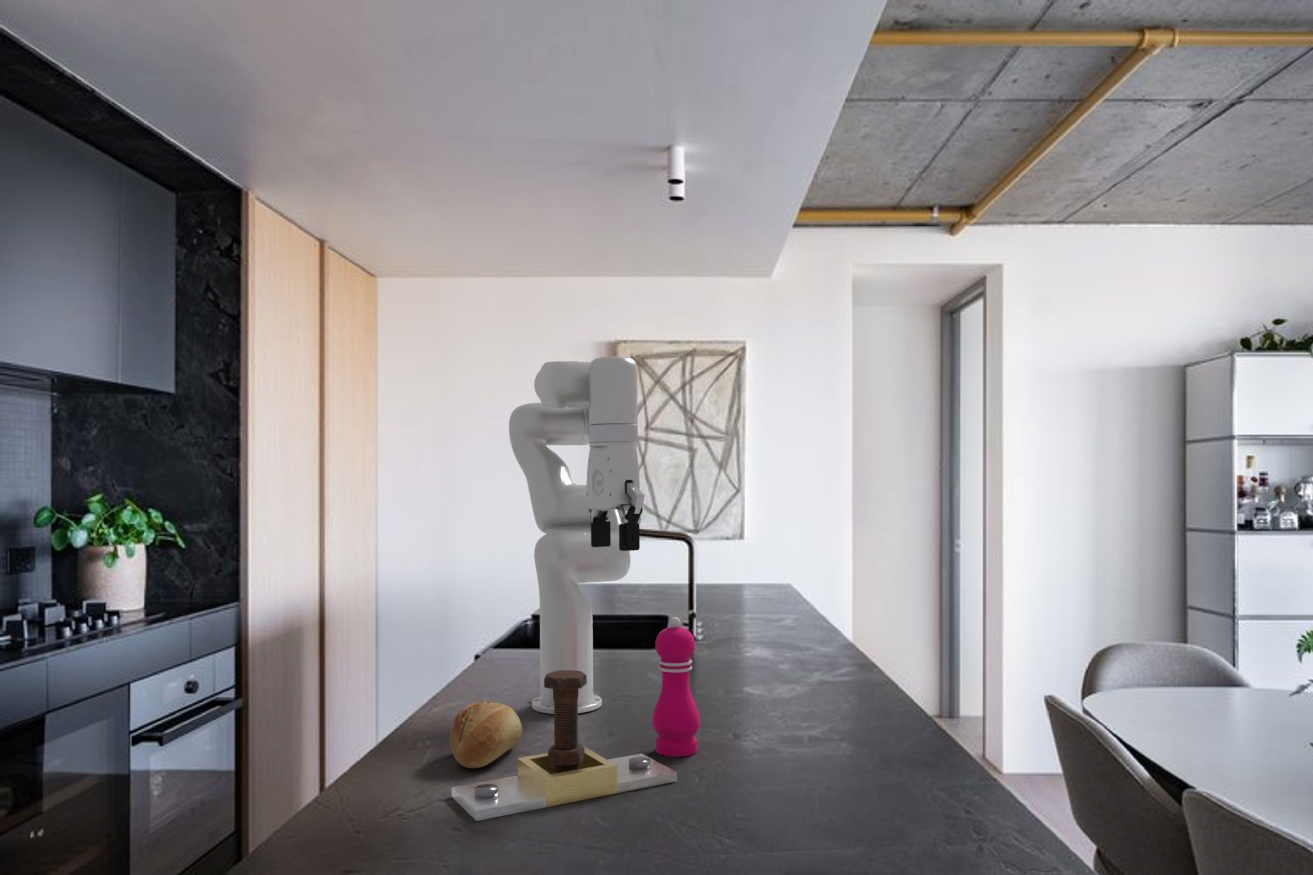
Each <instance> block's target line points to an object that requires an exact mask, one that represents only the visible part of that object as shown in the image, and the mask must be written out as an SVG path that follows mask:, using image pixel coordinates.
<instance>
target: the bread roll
mask: <svg viewBox="0 0 1313 875" xmlns="http://www.w3.org/2000/svg"><path fill="white" fill-rule="evenodd" d="M522 726H523V725H522V723H521V720H520V717H519V716H518V714H517V713H516V712H515V710H513V709H512V707H511V706H508V705H506V704H504V703H503V704H502V703H500V702H490V701H480V702H473V703H471V704H468V705H467V706H465V707H464V708H462V709H461V710H459V712H458V713H456V716H454V719H453V722H452V724H451V728H450V732H449V745H450V748H451V752H452V754H453V757H454V758H455V760H456V761H457V762H458V763H459V765H461V766H463V767H465V768H467V769H478V768H481V767H482V768H483V767H485V766H487V765H489V764H490V763H492V762H494V761H495V760H497V759H498V758H499V757H501V756H502V755H504V754H505V753H507V752H508V751H510V750H512V749H513V748H514V747H515V746H516V745H517V744H518V742H519V741H520V739H521V737H522V732H523V727H522Z"/></svg>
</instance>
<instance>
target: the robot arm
mask: <svg viewBox="0 0 1313 875" xmlns="http://www.w3.org/2000/svg"><path fill="white" fill-rule="evenodd" d="M533 384H534V385H533V386H534V387H533V388H534V391H535V394H536V396H537V397H538V399H539V400H540V402H531V403H524V404H521V405H519V406H517V407H516V408H514V410H512V412H511V414H510V417H509V421H508V434H509V441H510V445H511V449H512V453H513V455H514V457H515V459H516V462H517V463H518V466H519V467H520V469H521V471H522V473H523V474H524V476H525V478H526V481H527V482H526V483H527V489H528V493H529V497H530V503H531V507H532V512H533V517H534V520H535V523H536V524H535V525H536V527H537V529H539V530H540V532H542V533H543V534H544V535H543V536H541V537H539V539H538V540H537V541H536V543H535V547H534V554H533V555H534V556H533V557H534V565H535V571H536V577H537V582H538V583H537V585H538V595H539V650H540V651H539V655H540V657H539V658H540V659H539V662H540V666H539V668H540V670H539V674H540V677H539V679H540V680H539V681H540V682H539V685H540V688H539V689H540V695H539V696H536V697H535V698H533V699H532V701H531V708H532V709H533V710H534V711H536V712H539V713H543V714H550V715H554V714H555V713H554V706H555V705H554V699H553V689H549V688H545V687H544V678H545V676H546V675H547V674H548V673H551V672H554V671H560V670H575V671H581V672H583V673H584V674H586V675H587V684H586V685H584V686H583V687H582V688H581V689H578V703H577V704H578V708H577V709H578V714H581V713H582V714H583V713H587V712H588V713H589V712H591V711H594V710H598V709H599V708H601V706H602V704H603V703H602V702H603V699H602V697H600V696H599V695H597V694H595V693H594V655H593V654H594V650H593V649H594V646H593V645H594V643H593V642H594V639H593V638H594V637H593V636H594V635H593V634H594V632H593V607H592V605H591V604H592V603H591V602H590V600H589V598H588V597H587V596H586V595H585V594H584V592H583V591H582V590H581V589H580V587H579V585H580V584H587V583H601V582H602V583H603V582H615V581H619V580H621V579H623V578H625V577H626V576H627V574H628V573H629V571H630V568H631V551H639V550H640V545H641V543H640V542H641V541H640V534H641V533H640V524H641V522H642V517H641V515H642V513H643V505H644V500H645V493H643V492H642V490H641V486H640V484H641V483H640V469H639V467H640V466H639V457H638V450H637V447H639V430H638V429H639V428H638V427H639V426H638V424H639V423H638V422H639V421H638V418H639V417H638V415H639V414H638V413H639V412H638V366H637V364H636V362H635V361H634V359H632V358H629V357H625V356H603V357H602V356H600V357H597V358H594V359H593V360H591V361H577V360H576V361H575V360H567V361H566V360H565V361H561V360H559V361H557V360H556V361H555V360H554V361H546V362H544V363H543V365H542V366H541V368H540V369H539V371H538V372H537V374H536V375H535V378H534V383H533ZM586 445H589V446H588V447H589V452H588V457H587V458H588V460H587V468H586V469H587V471H586V484H577V483H573V480H572V477H571V472H570V468H569V466H568V465H567V464H566V462H565V461H564V460H563V459H562V458H561V457H560V456H559V455H558V454H557V453H556V452H554V451H553V450H552V449H550V448H549V447H548V446H586Z"/></svg>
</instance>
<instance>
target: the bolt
mask: <svg viewBox="0 0 1313 875" xmlns="http://www.w3.org/2000/svg"><path fill="white" fill-rule="evenodd" d="M586 684H587V675H586V674H584V673H583V672H581V671H575V670H560V671H554V672H551V673H548V674H547V675H546V676H545V678H544V687H545V688H549V689H553V699H554V705H555V706H554V713H555V714H553V716H554V717H553V720H554V721H553V728H554V729H553V733H554V734H553V735H554V736H553V740H554V742H553V743H554V744H551V745H550V747H549V748H548V749H547V750H548V751H547V753H548V761H549V762H550V763H552V764H554V766H555V768H554V769H555V774H557V773H562V772H568V771H573V770H578V769H579V768H578V764H579V763H581V762H582V760H583V758H584V747H585V746H583V745H582V744H581V743H579V732H578V731H579V727H578V726H579V724H578V723H579V722H578V721H579V713H578V709H577V708H578V704H577V703H578V689H581V688H582V687H583V686H584V685H586Z"/></svg>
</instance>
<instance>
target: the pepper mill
mask: <svg viewBox="0 0 1313 875" xmlns="http://www.w3.org/2000/svg"><path fill="white" fill-rule="evenodd" d="M668 624H669V627H666V628H664V629H662V630H661V631H660V632H659V633H657V634H658V635H656V638H655V645H654V646H655V651H656V654H658V656H659V658H661V659H659V660H658V664H659V667H658V670H659V671H661V678H662V679H661V680H662V681H661V691H660V694H659V697H658V701H657V703H656V705H655V707H654V710H653V714H652V720H651V721H652V728H653V729H654V731H655V732H656V734H657V735H658V737H657V738H656V739H655V751H656V754H658V755H661V756H663V755H664V756H665V757H668V758H669V757H670V758H678V757H679V758H683V757H689V756H693V755H694V754H696V753H697V752H698V739H697V738H696V736H695V734H696V733H697V731H699V729H700V726H701V716H700V713H699V710H698V706H697V705H696V702H695V699H694V697H693V694H692V692H691V691H692V690H691V688H690V671H691V670H692V669H693V666H692V663H693V660H692V659H691V656H692V655H693V653H694V652H695V650H696V642H695V637H694V636H693V633H691V631H689V630H688V629H687V628H684V627H681V619H680V618H679V617H677V616H672V617H671V618H670V619H669V620H668Z"/></svg>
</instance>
